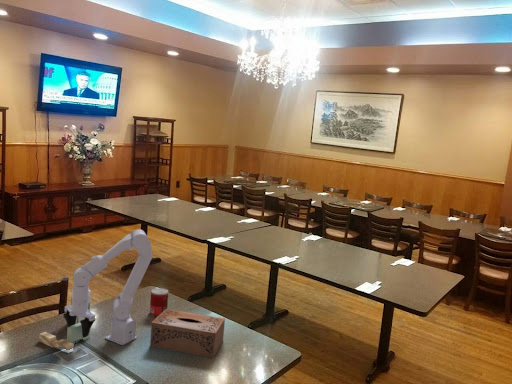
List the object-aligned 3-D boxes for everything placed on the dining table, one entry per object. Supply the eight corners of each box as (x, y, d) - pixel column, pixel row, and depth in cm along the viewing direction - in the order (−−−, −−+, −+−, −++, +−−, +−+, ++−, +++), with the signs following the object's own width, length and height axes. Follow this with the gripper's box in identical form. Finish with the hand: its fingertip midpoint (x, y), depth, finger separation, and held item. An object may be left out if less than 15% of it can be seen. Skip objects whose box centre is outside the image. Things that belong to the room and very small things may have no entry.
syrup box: (82, 318, 183) (84, 286, 181) (89, 323, 179) (91, 290, 178) (69, 322, 179) (71, 289, 177) (76, 326, 175) (78, 293, 173)
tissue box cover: (150, 346, 164) (151, 322, 163) (164, 331, 179) (165, 308, 177) (213, 358, 160) (215, 333, 159) (222, 341, 174) (225, 318, 173)
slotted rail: (73, 351, 155) (73, 344, 155) (67, 354, 153) (68, 346, 153) (45, 339, 162) (45, 331, 162) (39, 341, 160) (39, 333, 160)
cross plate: (86, 336, 167) (86, 319, 167) (89, 337, 166) (90, 321, 166) (66, 345, 159) (67, 327, 159) (70, 346, 159) (71, 328, 158)
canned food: (164, 317, 191) (166, 294, 190) (147, 316, 191) (149, 292, 190) (168, 311, 199) (170, 288, 198) (151, 309, 199) (153, 287, 198)
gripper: (58, 297, 161) (56, 331, 162) (85, 307, 154) (83, 342, 156) (74, 292, 167) (72, 325, 169) (100, 302, 161) (98, 336, 162)
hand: (78, 333), depth 163 cm, fingers open, 7 cm apart
